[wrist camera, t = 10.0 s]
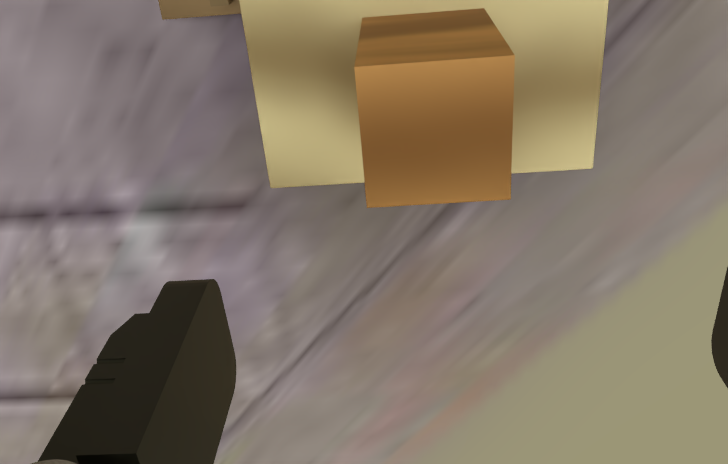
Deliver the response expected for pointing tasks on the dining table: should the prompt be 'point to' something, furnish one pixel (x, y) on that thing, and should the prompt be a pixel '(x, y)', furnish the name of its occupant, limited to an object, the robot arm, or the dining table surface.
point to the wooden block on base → (425, 93)
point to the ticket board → (197, 8)
